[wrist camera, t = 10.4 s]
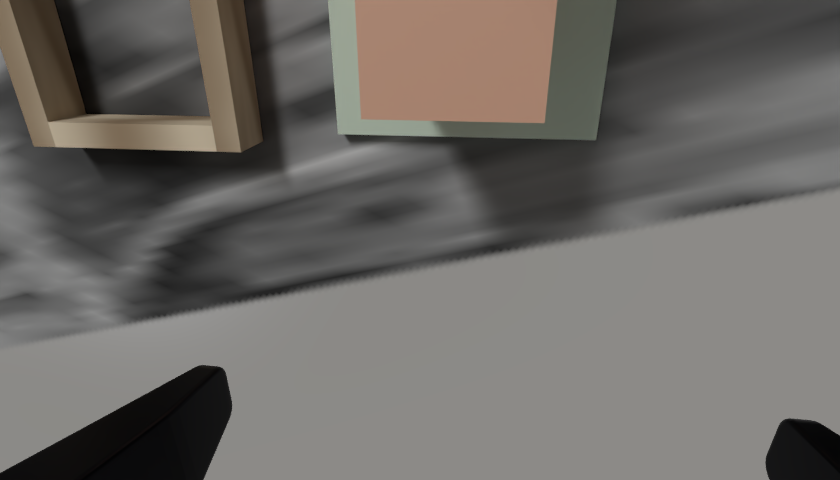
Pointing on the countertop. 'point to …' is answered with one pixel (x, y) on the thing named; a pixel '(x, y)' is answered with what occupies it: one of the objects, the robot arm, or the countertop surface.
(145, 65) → the countertop surface
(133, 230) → the countertop surface
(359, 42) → the part block
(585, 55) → the pad
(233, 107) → the wooden frame
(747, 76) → the countertop surface
